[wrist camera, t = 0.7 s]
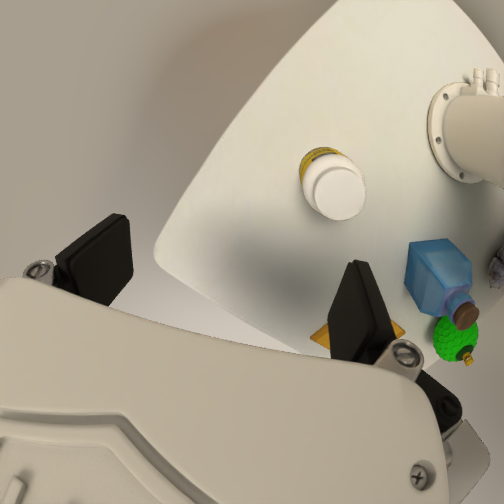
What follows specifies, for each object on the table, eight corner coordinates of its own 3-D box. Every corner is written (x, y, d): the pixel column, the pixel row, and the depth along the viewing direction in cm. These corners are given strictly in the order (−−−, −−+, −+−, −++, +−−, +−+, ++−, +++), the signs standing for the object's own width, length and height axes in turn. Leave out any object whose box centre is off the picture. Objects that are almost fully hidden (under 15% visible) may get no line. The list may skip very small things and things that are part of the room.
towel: (310, 336, 38) (310, 339, 38) (360, 294, 34) (360, 297, 34) (359, 365, 41) (359, 367, 40) (404, 330, 36) (405, 333, 36)
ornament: (454, 291, 32) (483, 335, 23) (470, 312, 34) (495, 353, 25) (418, 325, 36) (438, 373, 27) (437, 342, 37) (456, 385, 29)
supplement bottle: (326, 135, 25) (347, 144, 17) (357, 174, 27) (389, 201, 18) (287, 167, 28) (289, 191, 19) (320, 204, 29) (335, 243, 20)
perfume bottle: (409, 242, 30) (453, 300, 19) (447, 238, 29) (496, 290, 18) (404, 283, 33) (437, 346, 22) (440, 277, 31) (478, 334, 21)
